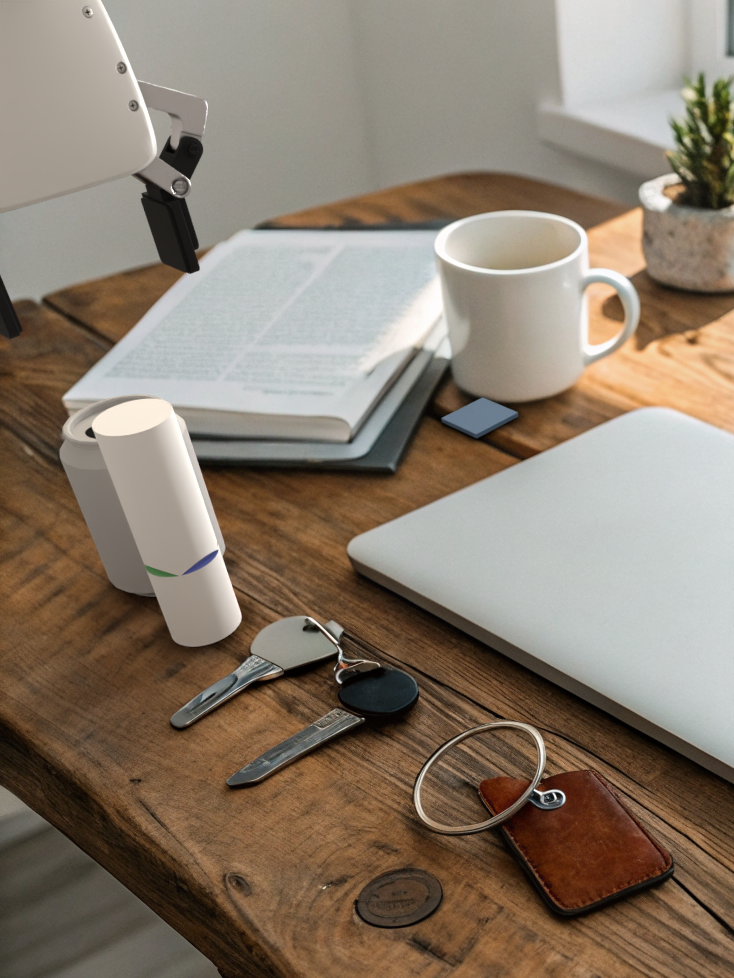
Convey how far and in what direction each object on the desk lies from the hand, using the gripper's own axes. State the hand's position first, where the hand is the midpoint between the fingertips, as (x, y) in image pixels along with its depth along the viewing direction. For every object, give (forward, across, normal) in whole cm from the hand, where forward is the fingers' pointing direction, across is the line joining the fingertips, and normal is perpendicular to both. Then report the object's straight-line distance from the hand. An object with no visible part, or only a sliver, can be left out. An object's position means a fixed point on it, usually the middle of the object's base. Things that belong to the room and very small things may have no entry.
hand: (97, 297), depth 62 cm
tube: (+22, 0, 0) cm, 22 cm away
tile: (+22, -28, -7) cm, 36 cm away
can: (+22, -1, -8) cm, 24 cm away
